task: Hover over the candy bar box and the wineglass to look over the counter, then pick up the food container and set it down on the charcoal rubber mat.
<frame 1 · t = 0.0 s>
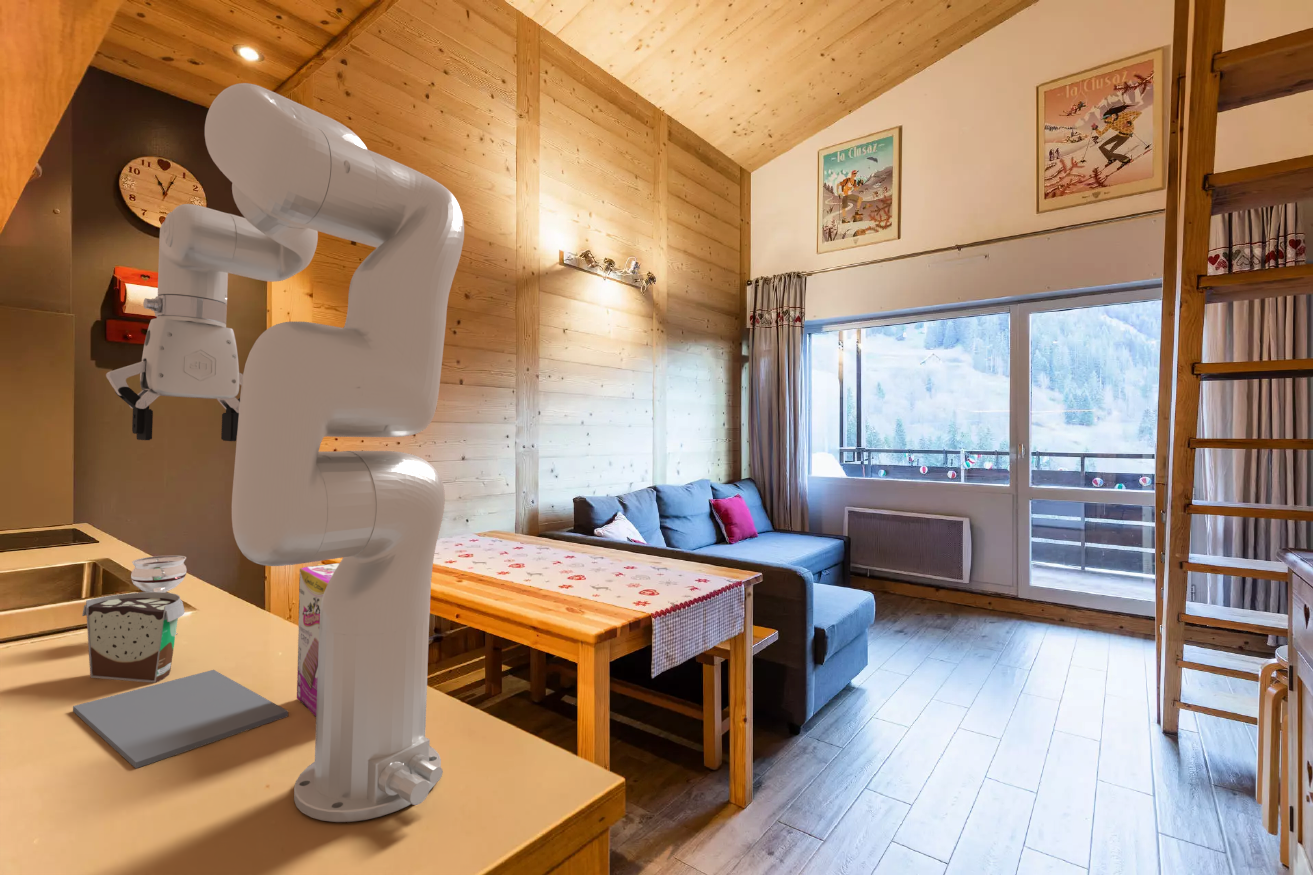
hand: (188, 440, 83), 31 cm above the counter, tool pointing down, fingers open, 9 cm apart
food container: (144, 672, 82), on the counter
mat: (180, 713, 71), on the counter
candy bar box: (331, 710, 73), on the counter
wineglass: (157, 637, 96), on the counter
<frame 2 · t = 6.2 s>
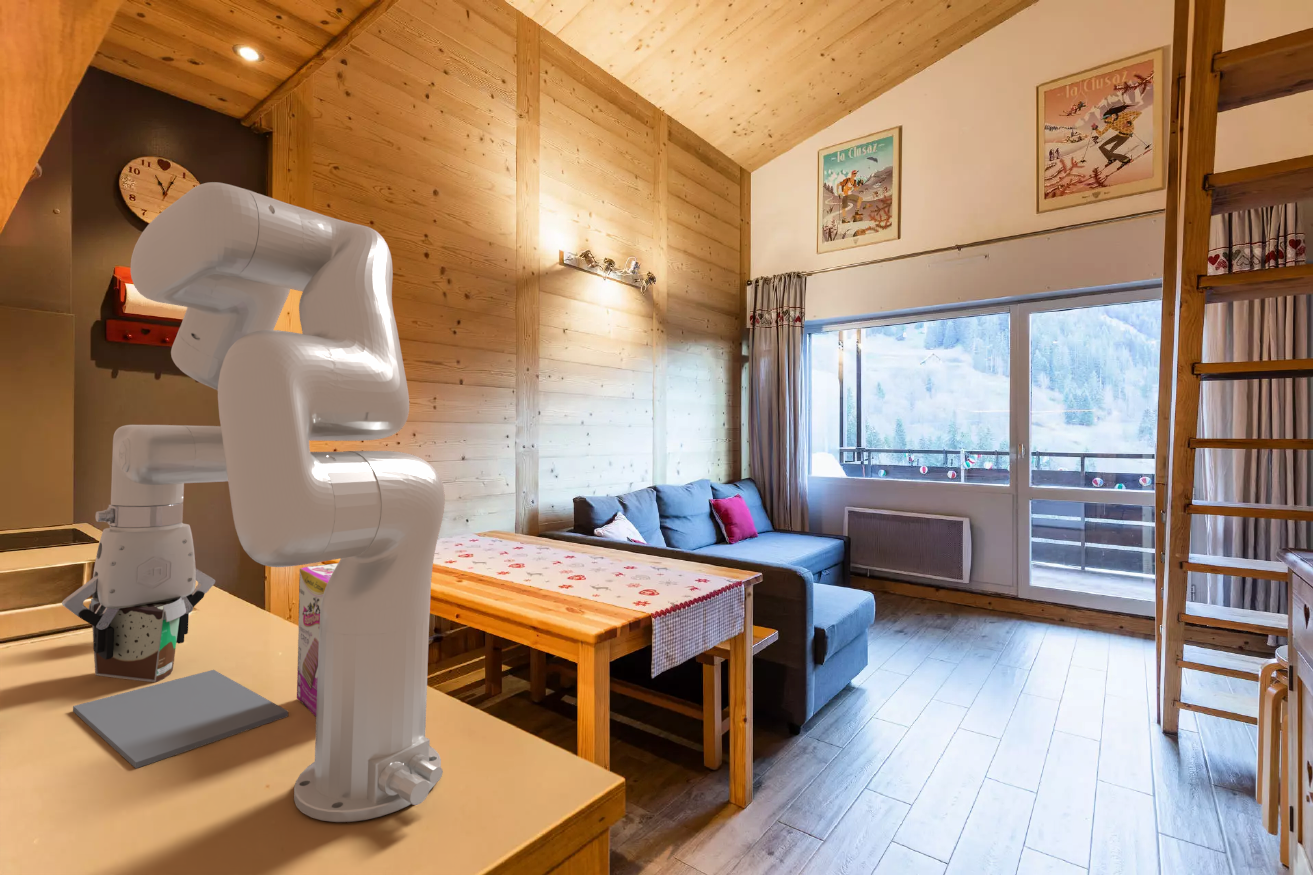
hand: (142, 647, 82), 3 cm above the counter, tool pointing down, fingers closed on food container, 7 cm apart
food container: (148, 671, 83), on the counter, touching gripper
everything else where it was.
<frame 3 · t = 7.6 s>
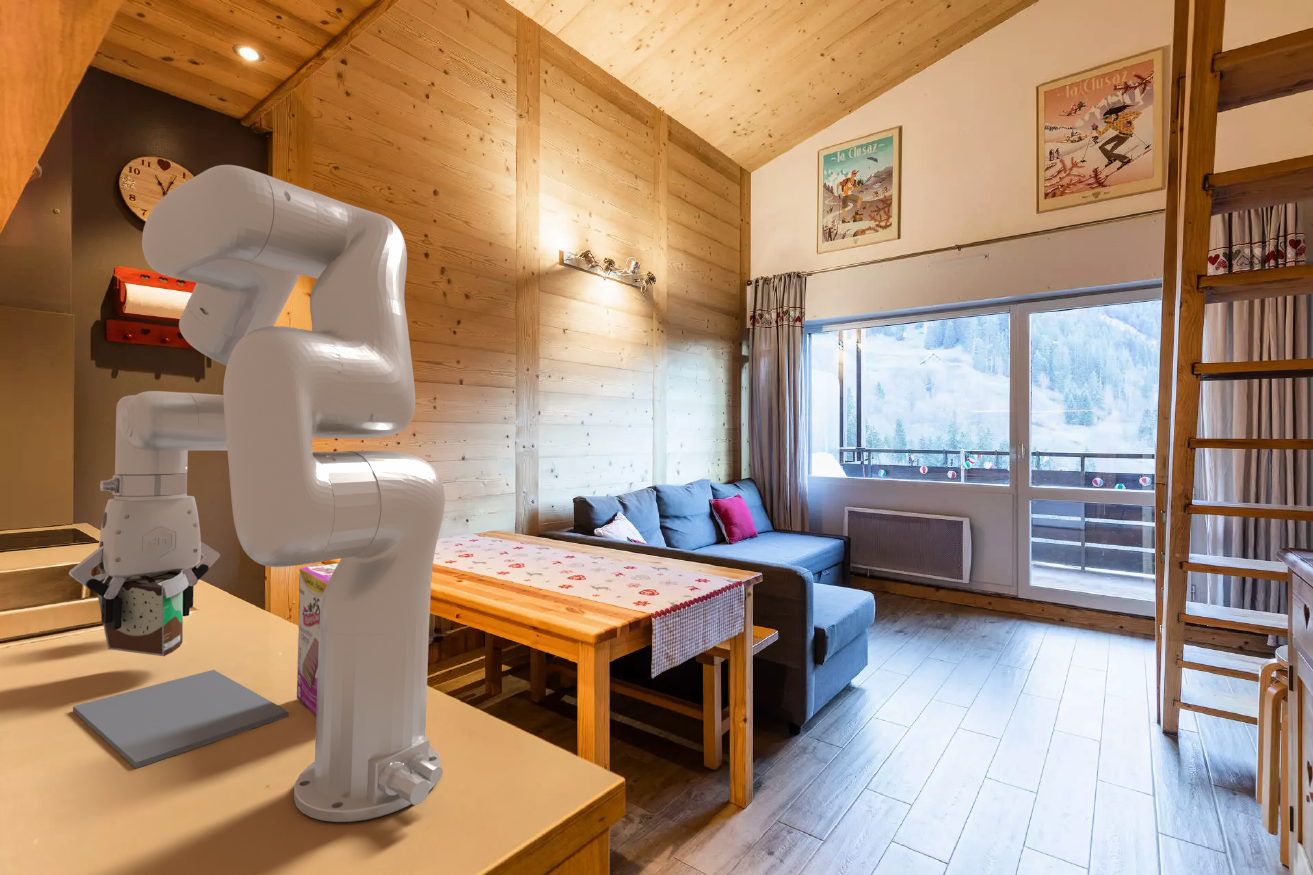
hand: (149, 619, 82), 7 cm above the counter, tool pointing down, fingers closed on food container, 6 cm apart
food container: (159, 643, 83), point 3 cm above the counter, touching gripper
everything else where it was.
when the fingers open (5 cm above the counter, at t = 13.2 s): food container stays where it is, resting on mat.
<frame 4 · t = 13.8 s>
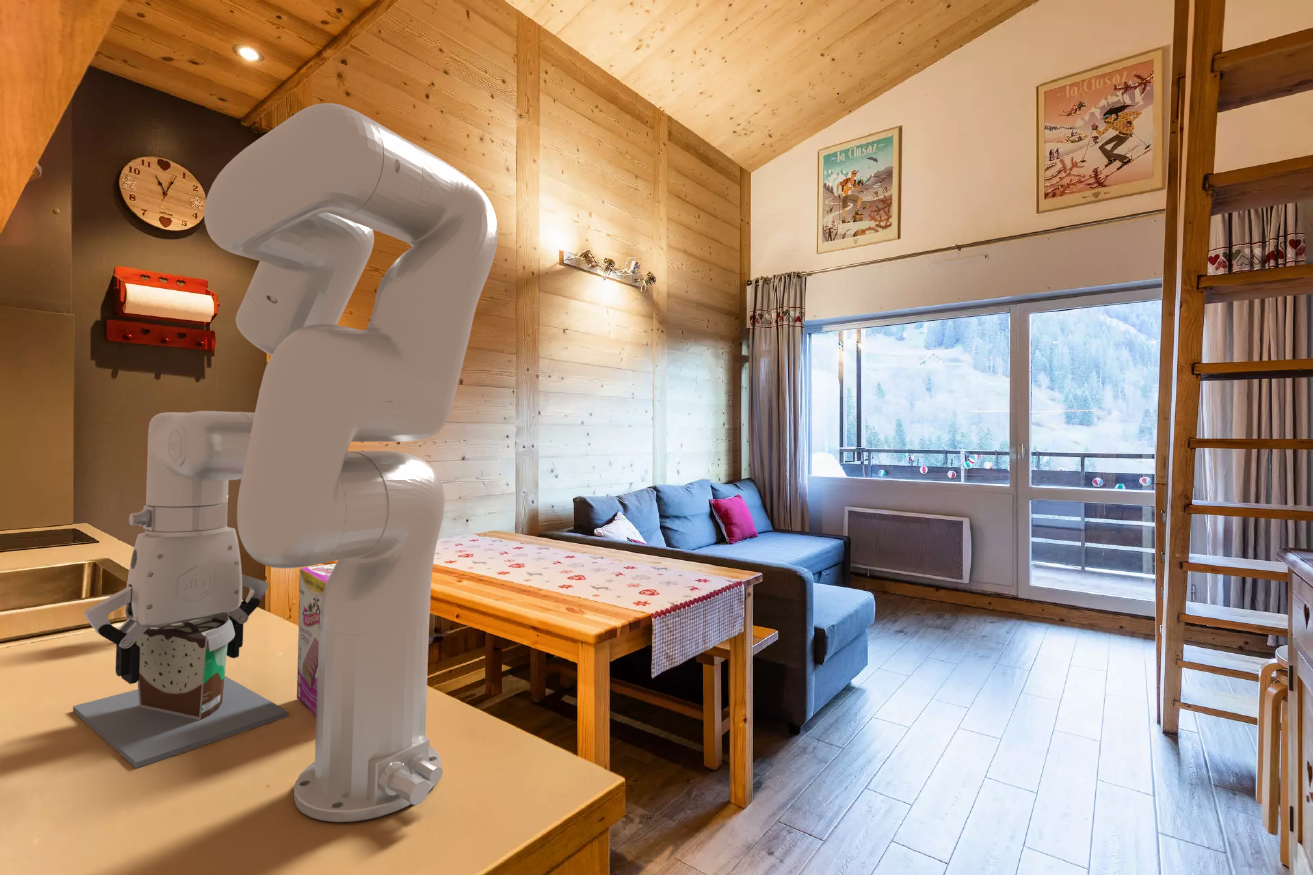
hand: (182, 667, 71), 5 cm above the counter, tool pointing down, fingers open, 9 cm apart
food container: (196, 703, 72), point 1 cm above the counter, touching mat
everything else where it was.
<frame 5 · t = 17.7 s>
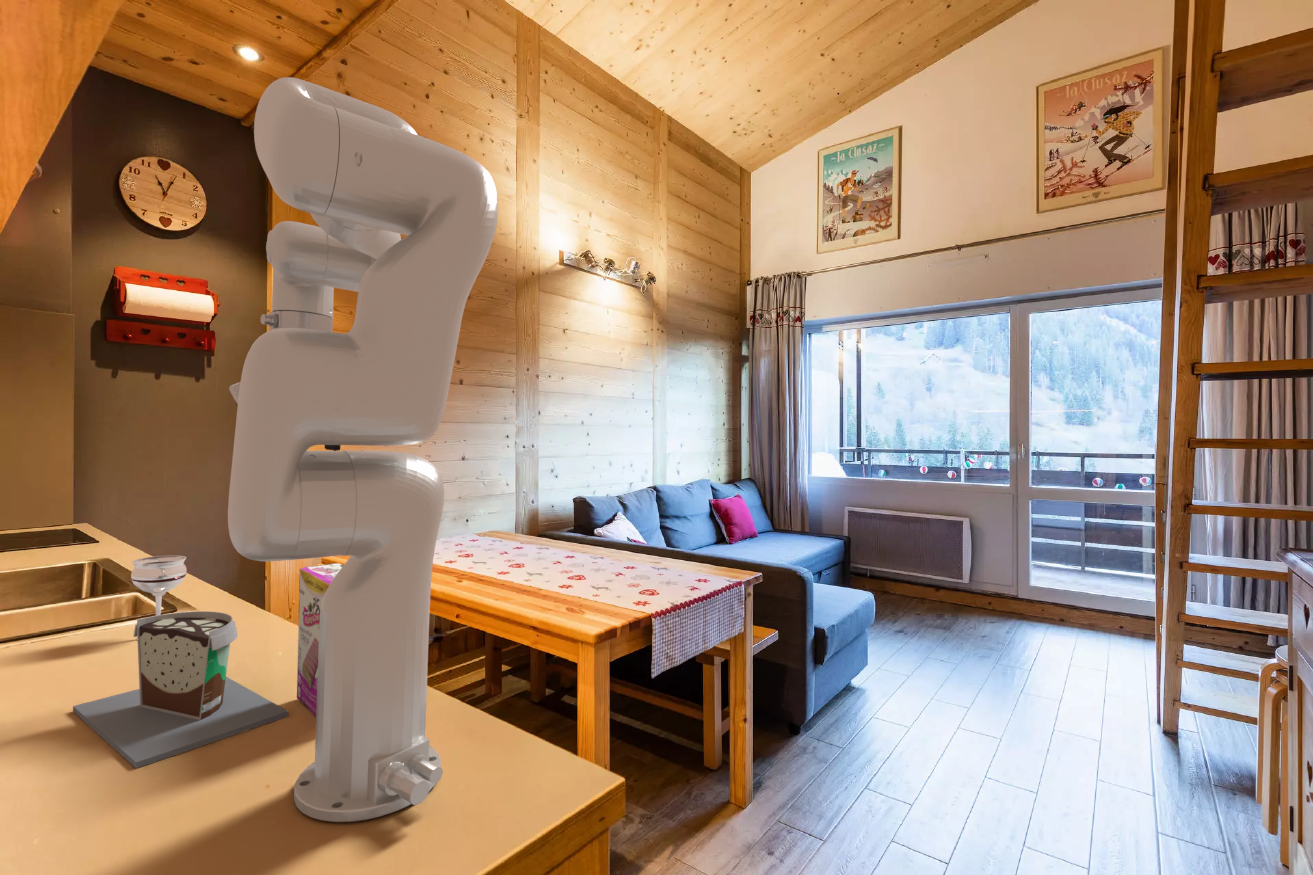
hand: (298, 449, 86), 30 cm above the counter, tool pointing down, fingers open, 9 cm apart
nothing on the counter moved.
at the end: food container inside the target area on the mat (1.7 cm from its centre), point 0.4 cm above the mat's base; food container tilted 0°; the gripper is holding nothing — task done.
